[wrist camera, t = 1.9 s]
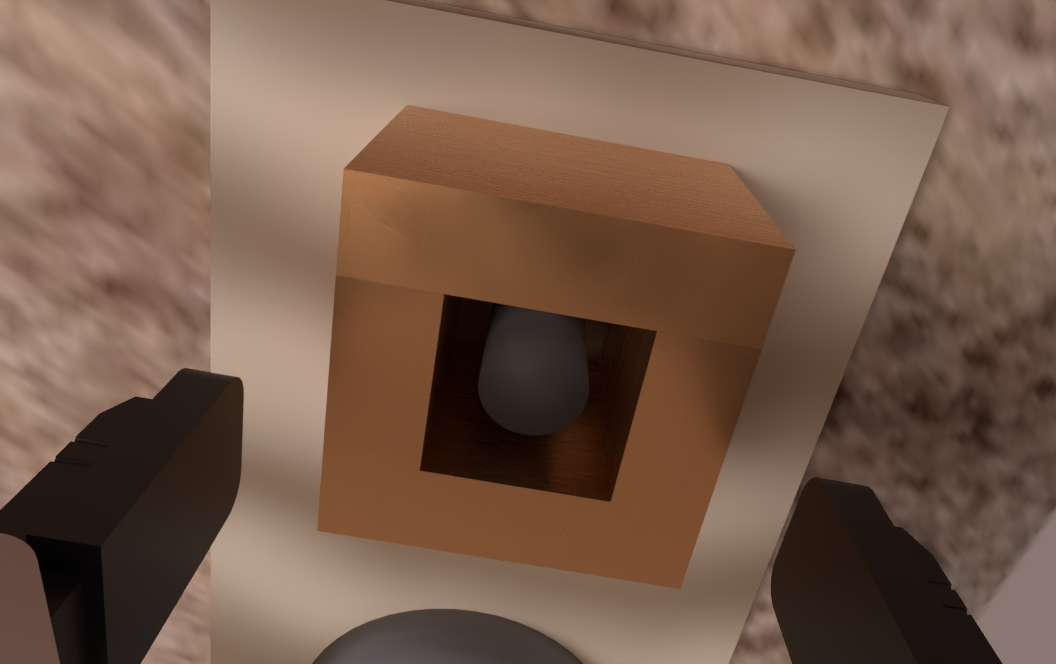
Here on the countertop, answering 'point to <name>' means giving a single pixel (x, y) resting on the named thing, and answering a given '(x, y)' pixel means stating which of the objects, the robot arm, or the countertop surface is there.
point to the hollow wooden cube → (551, 286)
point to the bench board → (561, 88)
